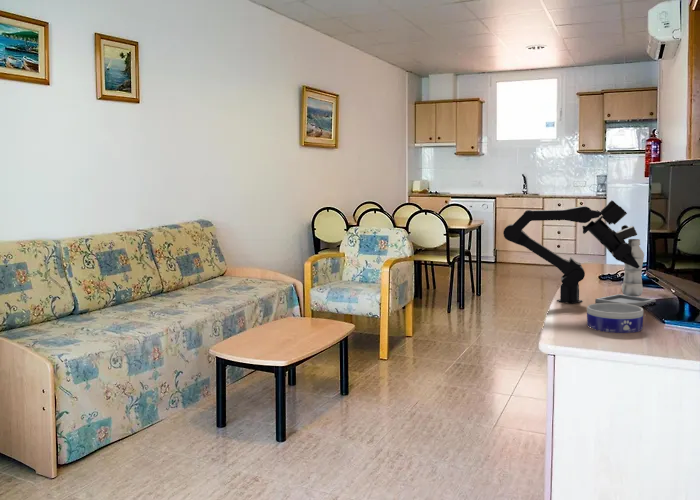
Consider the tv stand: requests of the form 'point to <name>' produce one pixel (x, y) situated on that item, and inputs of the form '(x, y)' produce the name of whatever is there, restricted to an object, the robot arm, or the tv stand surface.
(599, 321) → the dog bowl
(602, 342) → the tv stand surface
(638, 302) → the grey tray
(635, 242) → the plastic bottle
